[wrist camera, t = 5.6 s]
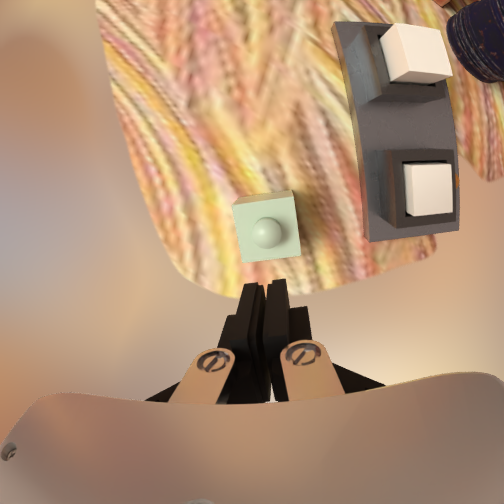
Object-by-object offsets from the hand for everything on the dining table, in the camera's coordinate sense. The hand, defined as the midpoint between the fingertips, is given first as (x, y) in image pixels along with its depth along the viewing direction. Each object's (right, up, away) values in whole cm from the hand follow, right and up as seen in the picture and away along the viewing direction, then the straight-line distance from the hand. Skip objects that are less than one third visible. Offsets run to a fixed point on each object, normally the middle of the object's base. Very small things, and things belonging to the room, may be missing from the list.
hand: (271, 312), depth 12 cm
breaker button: (+12, +19, +6) cm, 23 cm away
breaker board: (+14, +15, +12) cm, 24 cm away
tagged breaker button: (+14, +9, +12) cm, 20 cm away
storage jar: (+26, +27, +6) cm, 38 cm away
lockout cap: (+1, +6, +16) cm, 18 cm away
